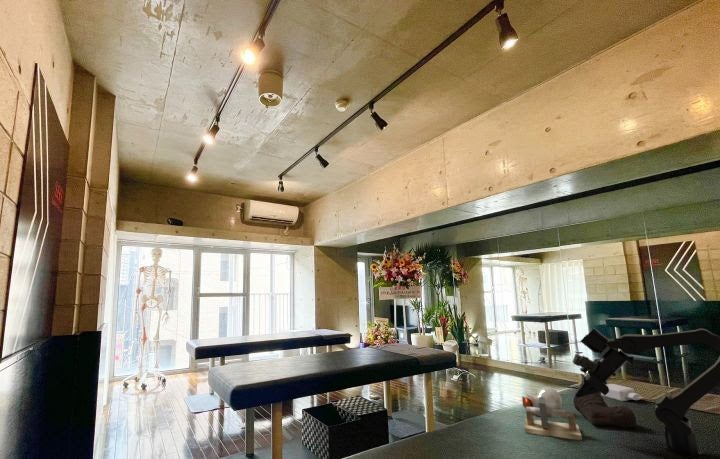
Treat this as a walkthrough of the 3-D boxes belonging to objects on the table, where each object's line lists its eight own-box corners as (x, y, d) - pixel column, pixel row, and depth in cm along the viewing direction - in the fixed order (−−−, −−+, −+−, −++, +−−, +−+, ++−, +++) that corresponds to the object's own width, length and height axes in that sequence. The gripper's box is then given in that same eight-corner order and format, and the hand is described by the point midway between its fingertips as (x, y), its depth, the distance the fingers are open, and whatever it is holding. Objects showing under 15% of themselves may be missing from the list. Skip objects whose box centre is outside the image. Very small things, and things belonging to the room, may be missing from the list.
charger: (636, 405, 144) (601, 396, 158) (650, 402, 147) (615, 393, 161) (634, 393, 145) (599, 385, 159) (648, 391, 148) (613, 383, 162)
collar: (547, 420, 125) (544, 397, 126) (548, 428, 118) (545, 403, 119) (541, 419, 126) (538, 396, 127) (541, 427, 119) (538, 402, 120)
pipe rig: (578, 429, 121) (575, 407, 123) (581, 440, 112) (578, 416, 114) (525, 422, 129) (523, 401, 130) (525, 432, 120) (522, 410, 121)
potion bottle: (565, 414, 139) (532, 422, 137) (549, 394, 148) (517, 401, 146) (570, 399, 135) (536, 407, 133) (553, 379, 144) (521, 386, 142)
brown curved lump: (635, 408, 119) (612, 388, 134) (588, 409, 122) (571, 390, 137) (640, 436, 119) (616, 413, 134) (592, 436, 122) (574, 414, 137)
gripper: (582, 342, 128) (553, 372, 131) (590, 350, 112) (557, 384, 114) (611, 366, 123) (581, 396, 126) (624, 377, 107) (588, 412, 109)
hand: (576, 396), depth 119 cm, fingers closed
